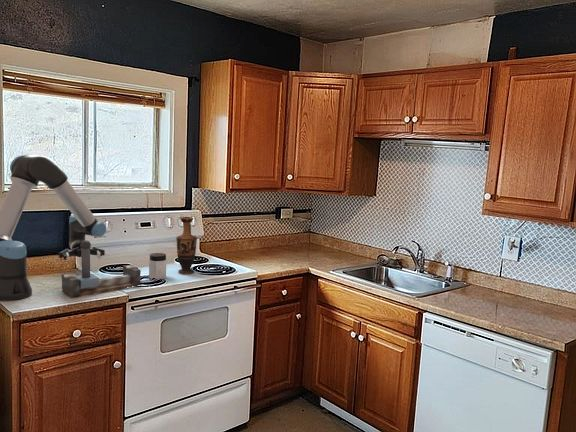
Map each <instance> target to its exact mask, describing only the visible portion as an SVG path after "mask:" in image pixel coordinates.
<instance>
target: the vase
mask: <svg viewBox="0 0 576 432" xmlns="http://www.w3.org/2000/svg"><path fill="white" fill-rule="evenodd" d="M179 219H180V222H181V223H182V224H183V227H182V228H183V230H182V231H183V232H182V234H181V235H177V236H176V254H177V260H178V263H179V265H180V269H179V270H178V271H177V272H178V274H180V275H191V274H194V273H195V270H194V269H192V265H193V263H194V261H195V258H196V253H197V242H198V241H197V240H198V237H197V235H193V234H192V227H191V226H192V225H191V223H192V222H193V221H194V217H192V216H191V217H190V216H180V218H179Z"/></svg>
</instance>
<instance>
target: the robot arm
mask: <svg viewBox="0 0 576 432" xmlns="http://www.w3.org/2000/svg"><path fill="white" fill-rule="evenodd" d="M9 170H10V177H9V179H10V181H11V184H10V187H9V189H8V191H7V193H6V196H5V198H4V201H3V202H2V205H1V206H0V301H3V302H5V301H16V300H21V299H26V298H28V297H30V296H32V294H33V288H32V286H31V283H30V281H29V279H28V269H27V267H28V266H27V265H28V261H27V253H28V251H27V246H26V244H25V243H23V242H21V241H20V240H13V238H12V236H13V235H14V232H15V230H16V227H17V225H18V223H19V220H20V217H21V215H22V213H23V211H24V208H25V206H26V205H27V201H28V199H29V196H30V194H31V192H32V190H34V189H36V188H38V185H39V183H40V182H41V183H43V184H44V185H45V186H46V187H47V188H48V189H49V190H53V191H54V193H55V194H56V195H57V196H58V198H59V199H60V200H61V202H62V203H63V204H64V206H65V207H66V208H67V209H68V210H69V211H70V213H71V214H72V215H70V216H69V219H68V220H69V222H68V224H69V226H68V227H69V241H68V246H69V248H70V249H69V248H65V249H63V250H62V251H60V252H58V257H59V259H62V258H63V260H64V261H67V262H70V257H72V256H73V257H76V258H81V246H80V244H81V242H82V241H84V240H86V236H91V237H95V238H97V237H99V238H101V237H103V236H104V235H105V234H106V233H107V226H106V223H104V222H102V221H99V220H98V219H97V218H96V216H95V215H94V214H93V213H92V211H91V210H90V209H89V207H88V206H87V205H86V203H85V202H84V201H83V199H82V198H81V196H80V195H79V194H78V193H77V192H76V190H75V189H74V187H73V185H72V184H71V183H70V182H69V181H68V176H67V174H66V173H65V172H64V170H63V169H62V168H61V167H60V165H59V164H57V162H55V161H54V160H53V159H51V158H50V157H48V156H46V155H32V154H22V155H18V156H16V157H14V159H12V161H11V162H10V166H9ZM105 252H106V251H105V250H104V249H101V248H98V247H94V246H93V247H92V248H90V256H96V257H97V258H98V260H101V258H102V257H103V256H106V255H105Z"/></svg>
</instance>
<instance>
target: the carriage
mask: <svg viewBox="0 0 576 432" xmlns="http://www.w3.org/2000/svg"><path fill="white" fill-rule="evenodd" d="M80 246H81V257H80V259H81V274H78V275H76V278H78V279H79V284H80V288H81V289H82V288H88V287H94V286H99V279H100V278H99V277H98V276H96V275H94V274H92V273H91V255H90V249H91V247H92V243H91V241H89V240H87V239H85V240H84V241H82V242H81V244H80Z"/></svg>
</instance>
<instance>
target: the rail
mask: <svg viewBox="0 0 576 432" xmlns="http://www.w3.org/2000/svg"><path fill="white" fill-rule="evenodd" d="M122 273H123V274H122V275H117V276H110V277H103V278H99V286H94V287H88V288H82V289H81V288H80V284H79V279H78V278H76V276H77V274H76V273H63V274H61V292H62V293H64V294H65V295H66V296H68V297H70V298H71V299H74V298H81V297H86V296H92V295H97V294H104V293H109V292H114V291H120V290H124V289H123V288H127V287H132V286H137V285H140V286H141V269H139V268H138V266H137V265H132V264H131V265H130V264H126V265H123V266H122ZM127 289H128V288H127Z"/></svg>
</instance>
